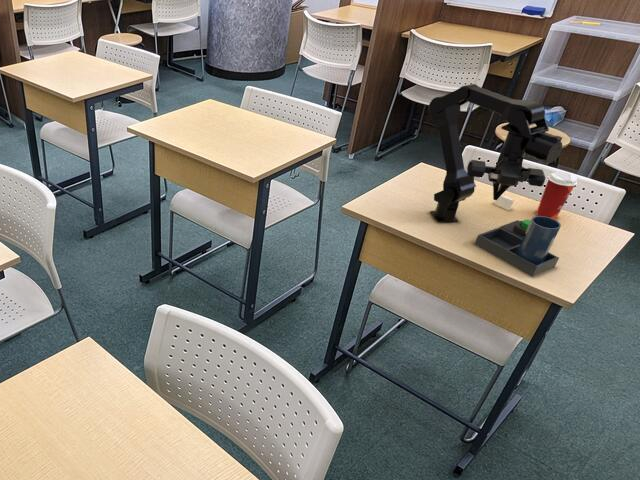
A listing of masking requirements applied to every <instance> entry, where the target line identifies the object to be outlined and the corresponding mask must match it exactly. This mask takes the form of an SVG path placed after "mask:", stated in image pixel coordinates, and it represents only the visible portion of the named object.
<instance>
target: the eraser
mask: <svg viewBox="0 0 640 480" xmlns="http://www.w3.org/2000/svg"><path fill="white" fill-rule="evenodd" d="M494 201H495V202H494V205H495V206H498V207H499V208H502V209H504V210H505V211H506V210H507V211H510V210H511V209H512V207H513V204H514V202H515V199H514V198H511V197H509V196H506V195H504V194H502V195H501V196H500V197H499V198H498V199H497V200H494Z"/></svg>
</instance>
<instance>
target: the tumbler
mask: <svg viewBox="0 0 640 480" xmlns="http://www.w3.org/2000/svg"><path fill="white" fill-rule="evenodd" d="M530 220H531V221H530V224H529V226H528V228H527V230H526V233H525V235H524V237H523V239H522V242H521V244H520V246H519V248H518V251H517V253H516V255H518V256H520V257H522V258H524V259H526V260H527V261H529V262H531V263H533V264H535V265H538V264H541V263H543V262H544V260H545V258H546V256H547V254H548V252H549V251H550V250H551V248H552V246H553V243H554V241H555V239H556V237H557V235H558V233H559V232H560V229H561V227H562V225H561V222H559V221H558V220H557V219H552V218H549V217H545V216H538V215H535V216H532V218H531V219H530ZM549 253H550V252H549Z"/></svg>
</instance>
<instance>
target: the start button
mask: <svg viewBox="0 0 640 480" xmlns="http://www.w3.org/2000/svg"><path fill="white" fill-rule="evenodd" d="M522 221H523V222H522V224H521V227H522V228H524V229H527V228H528V226H529V224H530V221H531V219H528V218H527V219H523V220H522Z"/></svg>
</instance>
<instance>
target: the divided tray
mask: <svg viewBox="0 0 640 480" xmlns="http://www.w3.org/2000/svg"><path fill="white" fill-rule="evenodd" d="M521 242H522V238H520V237H518V236H516V235H514V234H512V233H510V232H508V231H506V230H505V229H503V228H501V227H500V226H499V227H497V228H494V229H491V230H488V231H485V232H481V233H479V234H477V237H476V239H475V242H474V245H475V246H477V247H478V248H481V249H482V250H484V251H486V252H488V253H490V254H491V255H493V256H495V257H497V258H498V259H499V260H501V261H504V262H505V263H507V264H509V265H510V266H513V267H514V268H516V269H518V270H519V271H521V272H523V273H524V274H527V275H529V276H530V277H532V278H533V277H535V276H537V275H540V274H542V273H544V272H547V271H549V270H552V269H554V268H555V267H556V265H557V263H558V261H559V259H560V256H556V255H555V254H553V253H551V252H548V254H547V256H546V258H545V260H544V262H543V263H541V264H538V265H535V264H533V263H531V262H529V261H527V260H526V259H524V258H522V257H520V256H518V255H516V253H517V251H518V248H519V246H520V244H521Z"/></svg>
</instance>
